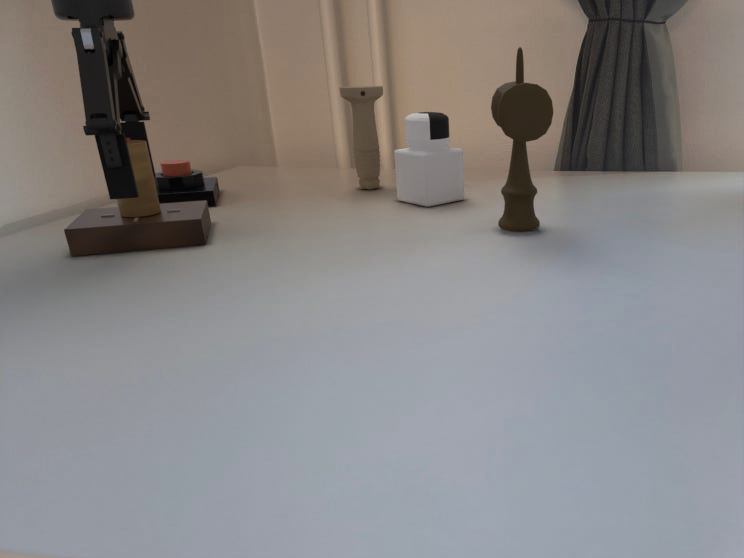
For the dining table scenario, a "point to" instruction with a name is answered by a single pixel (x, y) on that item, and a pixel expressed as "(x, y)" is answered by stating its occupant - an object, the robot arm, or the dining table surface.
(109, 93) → the robot arm
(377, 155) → the handle
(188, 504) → the dining table surface
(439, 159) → the medicine bottle
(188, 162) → the release button
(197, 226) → the plate
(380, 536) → the dining table surface
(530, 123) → the kendama
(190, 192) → the release housing
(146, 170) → the yellow cylinder
